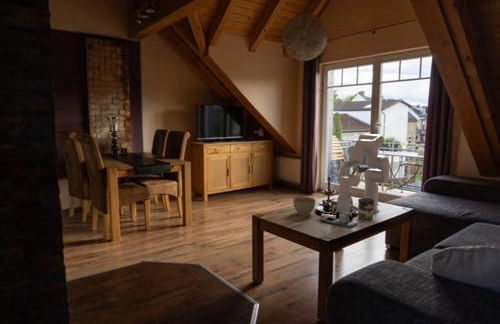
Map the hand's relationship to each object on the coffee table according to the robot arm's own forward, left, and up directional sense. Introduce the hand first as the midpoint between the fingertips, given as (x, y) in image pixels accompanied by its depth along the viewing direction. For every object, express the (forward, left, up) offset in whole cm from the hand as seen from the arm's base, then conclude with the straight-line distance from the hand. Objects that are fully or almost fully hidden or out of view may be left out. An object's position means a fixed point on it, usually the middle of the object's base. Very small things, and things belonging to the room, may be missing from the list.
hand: (344, 220), depth 241 cm
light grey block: (0, 0, -3) cm, 3 cm away
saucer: (-10, -17, -3) cm, 20 cm away
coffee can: (-19, +6, -3) cm, 20 cm away
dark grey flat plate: (0, -4, -3) cm, 5 cm away
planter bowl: (-2, -33, -3) cm, 33 cm away
